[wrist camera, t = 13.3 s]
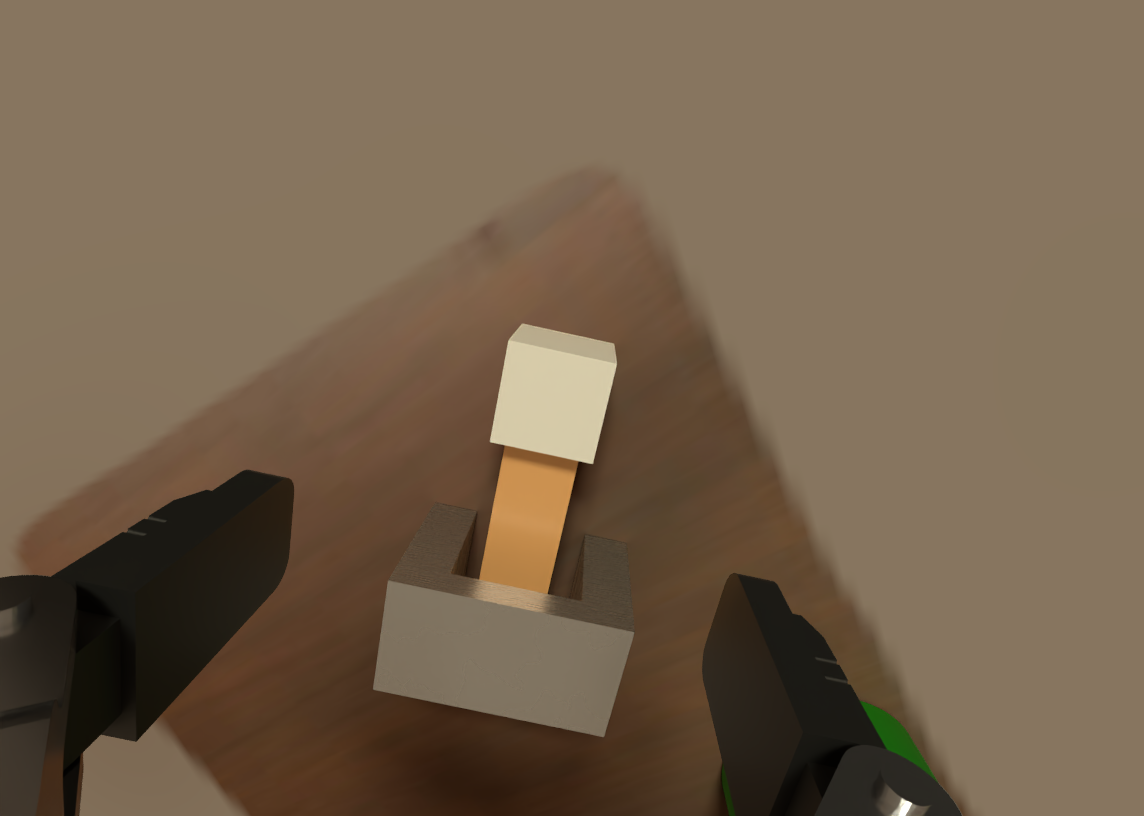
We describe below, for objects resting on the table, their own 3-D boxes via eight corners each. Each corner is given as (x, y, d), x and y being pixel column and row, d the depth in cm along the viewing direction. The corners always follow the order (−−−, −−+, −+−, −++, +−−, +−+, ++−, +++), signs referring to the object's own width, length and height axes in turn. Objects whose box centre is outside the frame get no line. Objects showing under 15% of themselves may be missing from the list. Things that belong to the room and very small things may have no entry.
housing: (602, 630, 29) (603, 737, 23) (420, 592, 29) (373, 689, 23) (626, 543, 28) (634, 632, 21) (435, 502, 27) (388, 580, 21)
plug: (545, 632, 29) (537, 692, 25) (467, 615, 29) (447, 673, 25) (614, 343, 25) (616, 364, 21) (522, 323, 25) (508, 339, 21)
